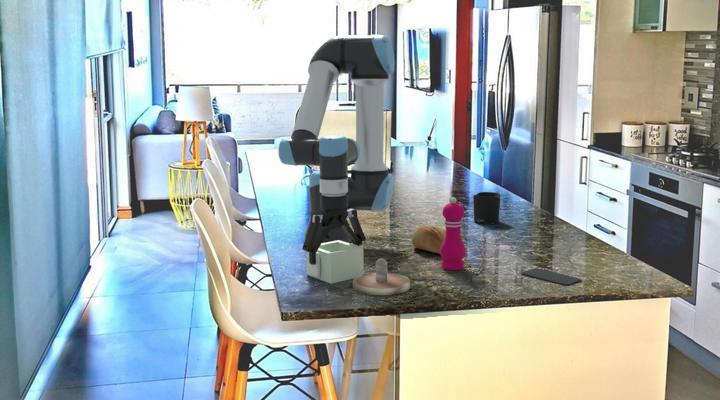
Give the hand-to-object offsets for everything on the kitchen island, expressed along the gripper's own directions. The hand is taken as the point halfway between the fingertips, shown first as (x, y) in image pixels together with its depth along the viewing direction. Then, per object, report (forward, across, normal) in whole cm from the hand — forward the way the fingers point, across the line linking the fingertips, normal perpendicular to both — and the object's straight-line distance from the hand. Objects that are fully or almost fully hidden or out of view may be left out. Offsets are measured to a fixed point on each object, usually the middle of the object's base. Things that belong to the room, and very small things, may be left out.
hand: (335, 271), depth 215 cm
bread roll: (+1, +38, +2) cm, 38 cm away
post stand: (+1, +3, -16) cm, 16 cm away
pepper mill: (+1, +30, -15) cm, 34 cm away
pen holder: (+1, +81, +19) cm, 83 cm away
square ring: (+1, 0, 0) cm, 1 cm away
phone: (+2, +43, -39) cm, 58 cm away
